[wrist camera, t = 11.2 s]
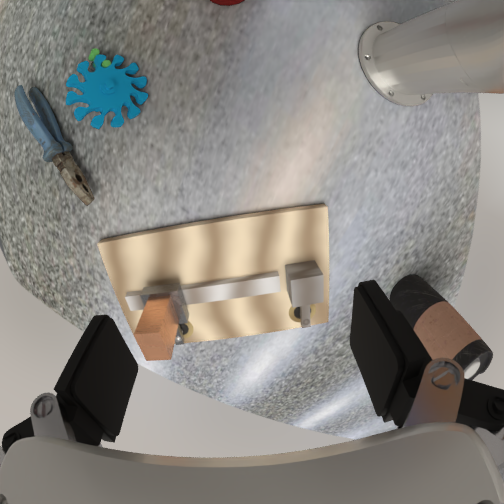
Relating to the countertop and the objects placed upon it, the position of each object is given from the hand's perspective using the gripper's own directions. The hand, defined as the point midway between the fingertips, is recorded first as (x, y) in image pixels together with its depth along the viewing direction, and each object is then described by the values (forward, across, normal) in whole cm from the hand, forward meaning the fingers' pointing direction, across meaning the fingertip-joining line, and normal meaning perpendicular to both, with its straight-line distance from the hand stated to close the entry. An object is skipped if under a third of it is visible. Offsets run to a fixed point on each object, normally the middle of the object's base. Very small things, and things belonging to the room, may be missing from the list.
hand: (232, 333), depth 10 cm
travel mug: (+26, -25, +22) cm, 42 cm away
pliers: (+25, +22, -11) cm, 35 cm away
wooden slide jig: (+25, +5, +13) cm, 29 cm away
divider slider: (+23, +12, +15) cm, 30 cm away
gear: (+26, +13, -15) cm, 32 cm away
